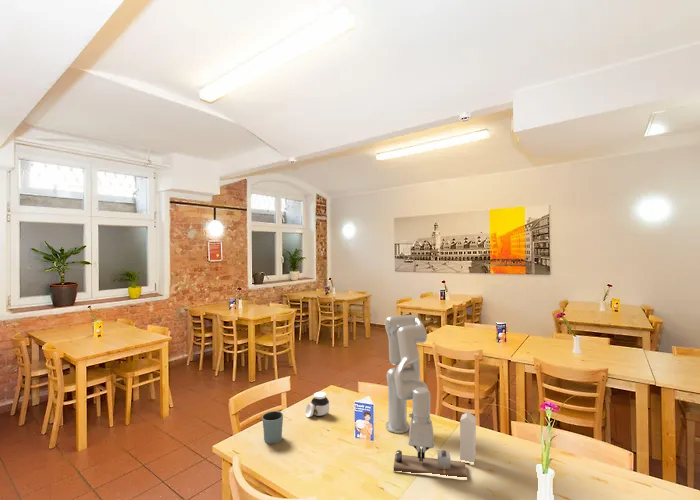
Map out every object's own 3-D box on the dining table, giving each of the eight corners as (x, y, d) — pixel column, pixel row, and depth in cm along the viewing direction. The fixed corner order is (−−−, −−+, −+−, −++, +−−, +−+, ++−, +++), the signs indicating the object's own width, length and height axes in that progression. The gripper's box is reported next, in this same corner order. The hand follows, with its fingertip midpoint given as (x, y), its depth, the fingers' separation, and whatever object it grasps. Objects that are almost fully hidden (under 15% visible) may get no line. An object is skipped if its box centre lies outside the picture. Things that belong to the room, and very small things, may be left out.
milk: (460, 462, 159) (459, 412, 159) (462, 455, 164) (461, 407, 164) (474, 465, 156) (474, 415, 156) (476, 458, 162) (475, 409, 161)
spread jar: (331, 414, 205) (331, 393, 205) (319, 422, 196) (319, 401, 195) (314, 409, 211) (314, 389, 211) (302, 416, 202) (302, 396, 202)
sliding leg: (437, 461, 156) (437, 447, 156) (449, 462, 155) (449, 449, 155) (438, 468, 151) (438, 454, 151) (450, 469, 150) (450, 455, 150)
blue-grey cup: (285, 434, 182) (285, 411, 182) (279, 445, 172) (279, 420, 172) (266, 433, 183) (266, 410, 183) (259, 444, 173) (259, 419, 173)
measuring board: (395, 458, 162) (395, 453, 162) (464, 466, 156) (464, 461, 156) (393, 472, 152) (393, 467, 152) (467, 481, 146) (467, 476, 146)
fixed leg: (396, 459, 158) (396, 450, 158) (402, 459, 157) (402, 450, 157) (396, 462, 156) (396, 453, 155) (401, 463, 155) (401, 453, 155)
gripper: (403, 420, 152) (403, 462, 153) (439, 423, 149) (439, 467, 150) (404, 412, 160) (404, 452, 160) (438, 415, 157) (438, 456, 157)
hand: (421, 459), depth 155 cm, fingers closed
